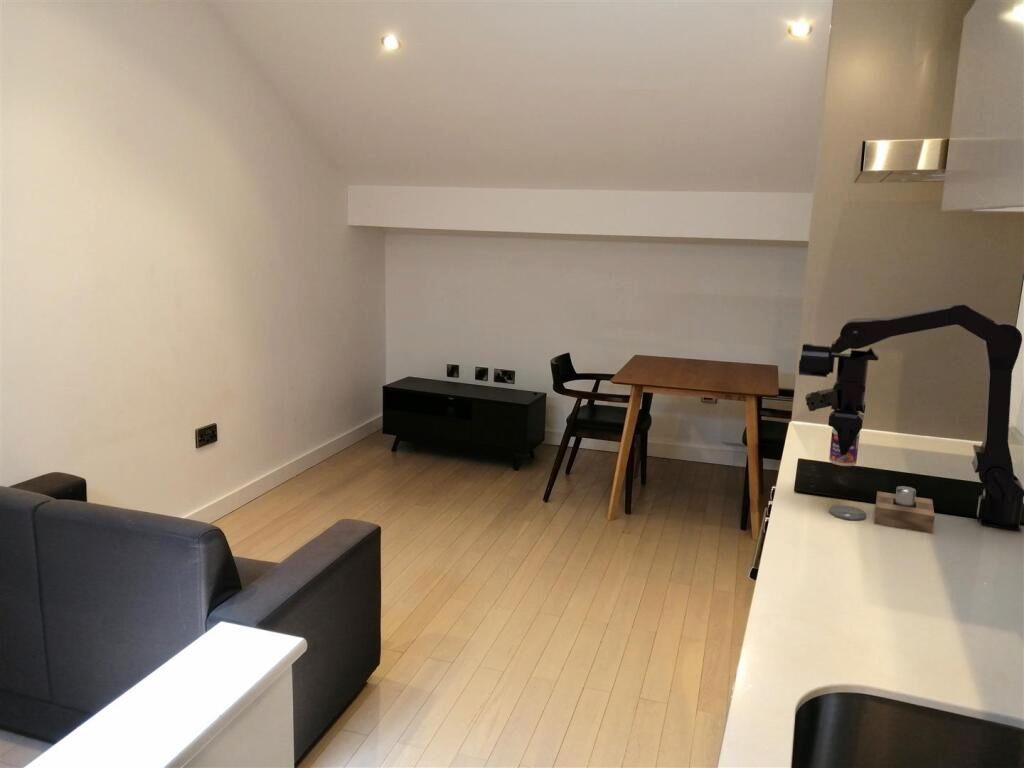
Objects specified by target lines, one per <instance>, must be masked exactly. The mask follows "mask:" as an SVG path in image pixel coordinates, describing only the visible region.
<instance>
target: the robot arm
mask: <svg viewBox="0 0 1024 768" xmlns="http://www.w3.org/2000/svg"><path fill="white" fill-rule="evenodd" d="M951 326H960V327H961V328H963V329H964V330H966V331H968V332H970V333H971V334H973V335H975V336H976V337H978V338H979V339H980V340H981V339H982V344H983V351H984V356H985V360H986V361H985V362H986V365H987V366H986V367H987V382H986V383H987V385H986V387H987V388H986V397H985V398H986V404H985V418H984V419H985V421H984V436H983V440H982V443H981V445H976V444H973V446H972V447H973V448H972V449H973V455H974V456H973V460H972V462H971V465H972V468H973V472H974V473H977V476H978V479H979V480H980V482H981V483H982V484H983V485H984V486H985V487H988V488H983V492H982V495H979V496H978V503H977V504H978V505H977V510H976V517H977V519H979V521H980V524H981V525H982V526H985V527H986V526H988V527H992V528H993V527H994V528H1000V529H1005V530H1012V531H1018V532H1019V531H1021V529H1022V527H1021V525H1020V522H1021V516H1022V509H1023V502H1024V486H1023V485H1022V482H1021V481H1020V479H1019V478H1018V477H1017V476H1016V475H1015V472H1014V466H1013V465H1014V464H1013V460H1012V455H1011V450H1010V445H1009V431H1010V428H1009V427H1010V416H1011V412H1010V411H1011V398H1012V397H1011V396H1012V395H1011V394H1012V392H1011V391H1012V378H1013V371H1014V368H1015V366H1016V362H1017V359H1018V357H1019V354H1020V350H1021V347H1022V342H1023V335H1022V333H1021V331H1020V330H1019V329H1018V328H1017V327H1016V326H1015V325H1013V324H1012V323H1010V322H1008V321H1004V320H997V321H995V320H994V319H991V318H989V317H988V316H986V315H984V314H982V313H980V312H979V311H976V310H974V309H973V308H971V307H970V306H969V305H968V304H965V303H963V302H955V303H952V304H950V305H946V306H939V307H936V308H931V309H925V310H921V311H916V312H915V311H914V312H911V313H905V314H899V315H895V316H889V317H858V318H857V317H855V318H852V319H849V320H847V321H846V322H845V324H844V325H843V326H842V328H841V330H840V332H839V337H838V338H837V339H836V340H833V341H832V343H831V345H819V344H812V343H803V344H802V347H801V353H800V354H801V355H800V359H799V360H798V361H799V362H798V375H799V376H807V377H817V378H828V375H830V374H834V371H835V363H836V358H837V366H836V367H837V369H836V378H835V379H836V380H835V382H834V384H833V387H832V388H827V389H823V390H817V391H811V392H810V393H806V395H805V397H804V398H805V401H806V403H805V404H806V406H807V408H808V411H809V412H814V411H817V410H819V409H823V408H828V407H829V408H830V407H831V408H830V410H832V411H831V412H830V413H829V416H828V422H827V423H828V424H827V425H828V427H830V428H832V429H833V428H834V429H835V430H836V431H837V434H838V441H839V449H840V454H841V455H846V454H847V452H848V451H849V449H850V447H851V445H852V444H853V442H854V440H855V439H856V437H857V435H858V433H859V432H860V433H861V430H862V429H863V423H864V417H865V416H864V414H866V406H867V405H866V404H867V402H866V401H865V395H866V388H867V379H868V371H869V370H868V367H869V361H874V362H875V361H876V362H877V361H879V359H880V356H879V354H877V353H876V351H875V350H874V349H873V347H869V348H867V349H866V350H859V349H863V348H865V347H867V346H871V345H874V344H876V343H880V342H881V341H883V340H886V339H888V338H892V337H896V336H900V335H901V336H903V335H907V334H911V333H912V334H913V333H917V332H923V331H928V330H929V331H930V330H933V329H940V328H944V327H951ZM849 349H851V350H850V353H843V352H845V351H846V350H849ZM860 412H861V413H860Z"/></svg>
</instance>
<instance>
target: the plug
mask: <svg viewBox="0 0 1024 768" xmlns="http://www.w3.org/2000/svg"><path fill="white" fill-rule="evenodd" d="M916 493H917V490H916V488H913V487H911V486H905V485H902V486H901V485H900V486H896V491H895V494H896V498H895V505H899V506H906V507H912V508H914V503H915V497H916Z"/></svg>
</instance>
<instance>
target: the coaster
mask: <svg viewBox="0 0 1024 768" xmlns="http://www.w3.org/2000/svg"><path fill="white" fill-rule="evenodd" d="M828 513H829V514H830V515H831V516H833V517H835V518H837V519H840V520H845V521H854V522H856V521H857V522H858V521H864V520H865V519H867V512H866V511H865V510H863V509H862V508H859V507H855V506H853V505H844V504H834V505H832V506H830V507H829V508H828Z"/></svg>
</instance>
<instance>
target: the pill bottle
mask: <svg viewBox="0 0 1024 768" xmlns="http://www.w3.org/2000/svg"><path fill="white" fill-rule="evenodd" d="M860 433H861V431H860V432H859V433H858V435H857V437H856V439H855V440H854V442H853V444H852V445H851V447H850V449H849V451H848V452H847V454H846V455H841V454H840V449H839V441H838V434H837V431H836V430H835V429H834V428H833V427H832V431H831V438H830V448H829V455H828V456H829V457H828V460H829V462H830V463H831V464H834V465H837V466H842V467H844V466H845V467H852V466H855V465H856V464H857V460H858V453H859V452H858V451H859V444H860Z"/></svg>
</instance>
